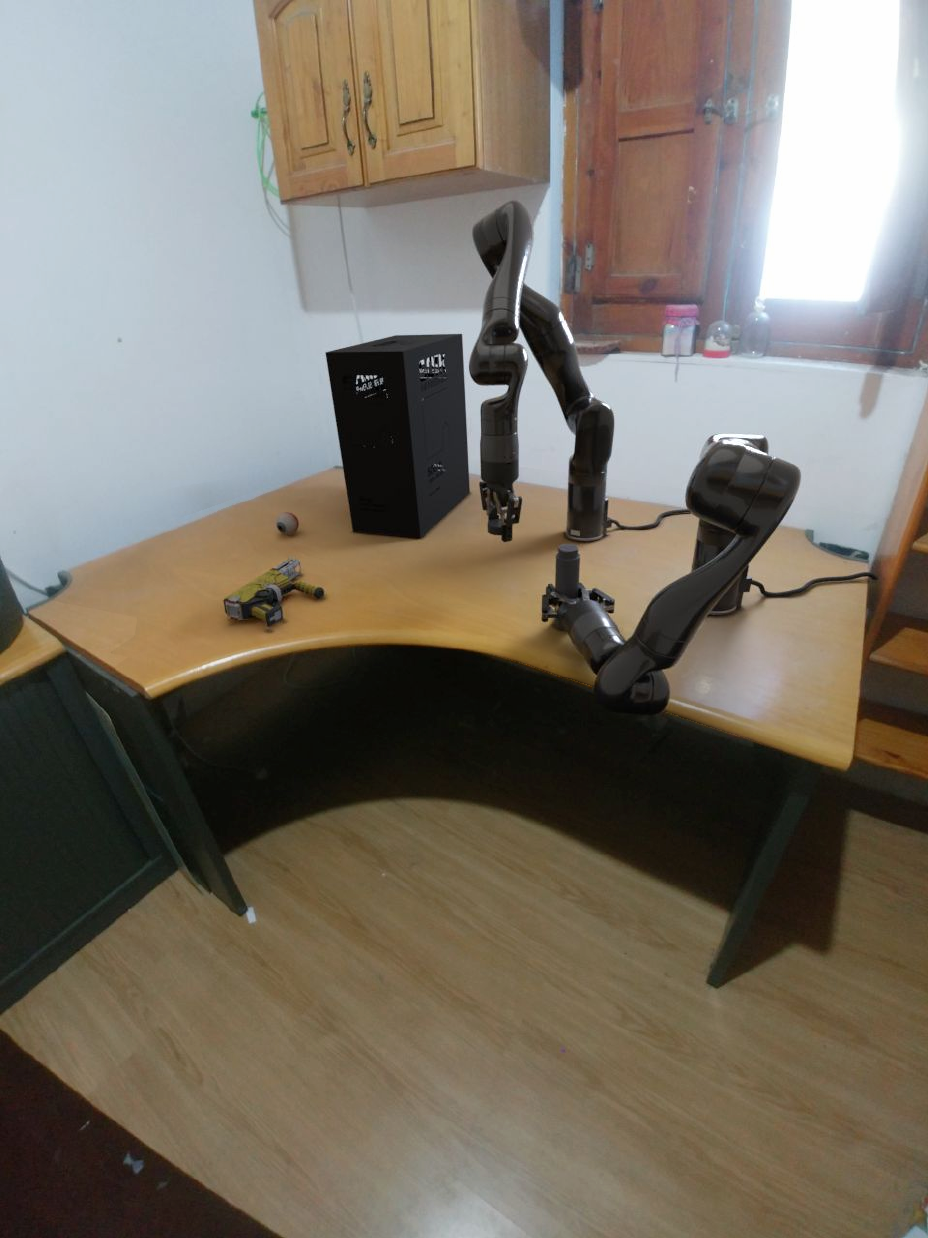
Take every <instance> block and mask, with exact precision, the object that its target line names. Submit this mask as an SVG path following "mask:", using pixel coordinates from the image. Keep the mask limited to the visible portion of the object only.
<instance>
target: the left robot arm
mask: <svg viewBox="0 0 928 1238" xmlns="http://www.w3.org/2000/svg"><path fill="white" fill-rule="evenodd" d="M471 239H472V242H473V246H474V248H475V250H476V253H477V255H478V256H479V259H480V261H481V262H482V264H483V266H484V268H485V269H486V272H488V275H489V276H490V277H491V281H490V283H489V285H488V288H487V290H486V292H485V296H484V299H483V304H482V316H481V328H480V331H479V334H478V337H477V339H476V341H475V343H474V345H473V347H472V350H471V353H470V356H469V363H468V373H469V376H470V378H471V379H472V381H473V382H474V383H475V384H476V385H478V386H484V387H487V386H507V389H506V391H505V393H503V394H501V395H499V396H495V397H491V398H488V399H485V400H484V401H482V402H481V404H480V412H479V413H480V440H479V441H480V442H479V457H480V458H479V460H480V479H481V480H482V481H479V483H478V485H479V493H480V500H481V508H482V511H485V514H486V516H487V520H488V521H487V523H488V522H489V521H490V520H493V519H501V523H502V525H501V535H500V536H501V537H500V540H501V541H502V542H503V543H508V542H512V541H513V525H517V524H519V523H520V519H521V512H522V505H523V498H522V496H521V495H520V496H517V495H515V490H514V483H515V482H516V481H517V480H518V479H519V477H520V474H519V473H520V443H519V433H518V430H519V427H518V425H519V418H518V417H519V403H520V397H521V392H522V388H523V385H524V381H525V377H526V374H527V371H528V365H529V356H528V353H527V350H526V348H525V347H524V346H523V345H522V344H521V343H519V342H516V341H517V339H518V338H519V334H520V331H521V333H522V336H523V338H524V340H525V342H526V344H527V346H528V348H529V350H530V352H531V354H532V356H533V358H534V360H535V361H536V363H537V365H538V367H539V368H540V370H541V372H542V374H543V375H544V377H545V379H546V380H547V383H549V385H550V387H551V388H552V390H553V392H554V394H555V397H556V399H557V402H558V405H559V407H560V410H561V412H562V415H563V418H564V421H565V423H566V426H567V427H568V429H569V431H570V432H571V434H573V435H574V436H575V437H574V450H573V454H571V455H570V456H569V458H568V468H567V469H568V473H567V501H566V502H567V503H566V527H565V536H566V537H567V538H568V539H570V540H572V541H576V542H583V543H584V542H586V543H587V542H594V541H599V540H600V539H602V538H604V536H607V530H608V529H610V528H613V527H612V526H613V524H614V525H615V526H616V527H617V528H619V529H622V530H629V531H631V530H635V531H637V530H638V531H639V530H646V529H650V528H655V527H656V526H659V524H660V523H661V522H662V518H663V517H665V516H669V515H673V514H683V513H691V512H690V511H689V510H688V509H687V508H685V509H683V508H682V509H673V510H667V511H664V512H662V513H660V514H659V515H658V517H657V519H656V521H655V522H653V523H650V524H645V525H639V526H638V525H637V526H627V525H623V524H621V523H620V522H619V521H618V520H616V519H613V518H612V517H609V516H608V514H609V498H607V497H606V493H607V477H608V465H609V461H610V459H611V457H612V453H613V446H614V445H613V444H614V435H615V415H614V411H613V410H612V408H611V406H610V405H609V404H607V403H605V402H604V401H602V400H600V399H597V398H596V396H595V395H594V394H593V392H592V391H591V389H590V387H589V385H588V383H587V382H586V380H585V378H584V375H583V373H582V371H581V367H580V362H579V356H578V351H577V350H578V349H577V346H576V342H575V341H576V340H575V338H574V336H573V333H572V331H571V328H570V326H569V324H568V321H567V320H566V318H565V315H564V313H563V311H562V310H561V308H560V307H559V306H557V304H555V303H554V302H553V301H552V300H550V299H548V298H547V297H545V296H544V295H542V294H541V293H539V292H537V291H536V290H534V289H532V288H531V287H530V286H528V285H527V284H526V283H525V280H526V276H527V272H528V268H529V265H530V264H529V263H530V259H531V254H532V250H533V246H534V239H535V231H534V224H533V221H532V217H531V216H530V214H529V211H528V210H527V208H526V207H525V205H524V204H523V203H522V202H521V201H519V200H516V199H511V200H507V201H505V202H504V203H502V204H501V205H499V206H497V207H496V208H495V209H493V210H492V211H490V212H489V213H487V214H486V215H485V216H483V217H482V218H480V219H479V220H478V221H476V222H475V223H474V224H473V226H472V228H471ZM503 508H504V509H503Z"/></svg>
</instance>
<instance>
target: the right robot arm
mask: <svg viewBox="0 0 928 1238" xmlns="http://www.w3.org/2000/svg"><path fill="white" fill-rule="evenodd" d="M769 448H770V446H769V441H768V439H767V437H766V436H764V435H760V434H741V433H740V434H739V433H716V434H713V435H710V436H709V437H708V438H707V439H706V440H705V441H704V444H703V446H702V448H701V451H700V455H699V460H698V462H697V463H696V465H695V466H694V469H693V470H692V472H691V474H690V476H689V479H688V482H687V485H686V489H685V493H684V494H685V495H684V500H685V501H684V503H685V506H686V509H688V510H689V511H690V512H689V513H690V514H692V515H693V516H695V517H696V518H697V519H698V522H697V523H698V524H697V530H696V537H695V543H694V550H693V557H692V563H691V569H690V572H689V573H687V574H685V575H684V576H681V577H679V578H678V579H676V580H674V581H673V582H671V583H669V584H667V585H666V586H665V587H663V588H662V589H661V590H659V591H658V592H657V593H656V594H655V595H654V596H653V597H652V599H651V600H650V602H649V604H648V605H647V607H646V608H645V610H644V612H643V614H642V616H641V617H640V619H639V621H638V623H637V625H636V627H635V629H634V631H633V632H632V635H631V636H630V637H628V638H627V639H625V637H624V636H623V634H622V633H621V632H620V628H619V627H618V625H617V624H616V622H615V621H614V620H613V619H612V617H611V616H610V614H611V615H612V614H614V613H615V606H616V605H615V604H616V600H615V598H613V597H612V596H610V595H608V594H607V593H605V592H604V591H602V590H601V589H599V588H597V587H594V588H592V589H591V590H590V589H589V588H587V587H585V585H584V584H583V583H582V582H579V591H578V598H577V599H569V598H568V597H566V596H565V595H560V594H558V593H557V590H556V589H555V585H554V584H553V583H547V586H545V593H544V594H542V595H541V622H543V623H548V622H549V619H554V618H557V620H558V621H559V622H561V623H562V624H563V626H564V628H565V630H564V631H565V633H566V634H567V636H568V637H569V639H570V641H571V643H572V644H573V645H574V647H575V648H576V650H577V652H578V653H579V654H580V655H581V656H582V657H583V658H584V660H585V662H586V663H587V665H588V667H589V669H590V670H591V671H592V672H593V674H594V675H595V676H596V677H595V680H594V683H593V694H594V698H595V700H596V703H597V704H598V705H599V706H600V707H601V708H602V709H603V710H605V711H606V712H607V711H608V712H612V713H616V714H617V713H618V714H630V715H637V716H638V715H640V716H654V715H657V714H660V713H662V712H663V711H664V710H665V709H666V707H667V706H668V705H669V702H670V699H671V687H670V682H669V680H668V678H667V675H666V674H665V673H664V672H663V671H664V670H669V669H671V668H673V667H675V666H676V665H677V664H678V663H679V661H680V660H681V659H682V657H683V655H684V653H685V652H686V650H687V649H688V647H689V646H690V644H691V642H692V641H693V639H694V637H695V636H696V634H697V633H698V630H699V629H700V627H701V626H702V624H703V623H704V621H705V620H706V619H707V617H708V616H727V615H730V614H733V613H734V612H736V610H739V609H742V602H743V598H744V593H750V591H751V587H752V586H755V587H757V588H758V589H759V592H760V594H761V595H763V596H765V597H769V598H779V597H781V598H782V597H789V596H793V595H797V594H801V593H803V592H806V590H808V589H810V587H812V586H813V585H816V584H820V583H828V582H829V583H830V582H843V581H851V580H856V579H859V578H864V577H867V578H870V579H872V580H874V581H878V580H879V578H878V576H877V575H876V574H875V573H874V572H870V571H863V572H858V573H857V572H856V573H854V574H849V575H841V576H825V577H819V578H814V579H811V580H809V581H808V582H807V583H805V584H804V585H803V586H801V587H798V588H794V589H790V590H786V591H777V592H771V591H767V590H766V589H765V586H764V584H763V583H762V582H760V581H758V580H755V579H753V577H751V576H750V575H748V574H749V569H750V563H751V562H752V561H753V559H754V558H755V557H756V555H757V554H758V553H759V552H760V551H761V549H762V548H763V547H764V546H765V544H766V543H767V541H769V539H770V538H771V537H772V535H773V534H774V533H775V531H776V530H777V529H778V527H779V526H780V525H781V523H782V522H783V520H784V519H785V517H786V515H787V514H788V512H789V510H790V508H791V506H792V505H793V503H794V501H795V499H796V496H797V494H798V492H799V489H800V486H801V481H802V472H801V469H800V468H799V467H798V466H797V465H795V464H794V463H791V462H789V461H787V460H784V459H781V458H779V457H777V456H773V455H772V454H771V455H770V454H769V451H770V449H769ZM553 608H554V609H553ZM555 609H556V611H555Z"/></svg>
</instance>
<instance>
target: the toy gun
mask: <svg viewBox="0 0 928 1238" xmlns="http://www.w3.org/2000/svg"><path fill="white" fill-rule="evenodd" d="M301 565H302V564H301V561H300V560H299V559H297V558H296V559H293V558H292V557H289V558H287V559H286V560H285V561H283V562H282V563H280V564H278V565H276V567H271V568H270V569H269V570H267V571H265V572H264V573H263V574H260V575H259V576H258V577H256V578H254V579H253V580H251V581H249V582H248V583H246V584H245V585H243V586H242V587H240V588H238V589H237V590H235V591H234V592H232V593H231V594H229V595H227V596H226V597H224V598H223V601H222V602H223V607H224V613H225V615H226V616H227V617H229V618H230V620H232V621H233V620H234V621H235V622H236V621H239V620H242V621H246V620H251V619H255V618H258V619H261V620H263V621H264V622H265V624H266V627H267V628H270V627H272V626H274V625H276V624H277V623H279V622H281V621H283V620H284V613H283V606H282V605H281V602H282V599H283V596H286V595H287V594H289V593H291V592H292V591H297V592H299V593H302V594H305V595H309V596H310V597H313V598H315V599H316V600H319V599H322V598H323V597H324V596H325V590H324V588H323V587H321V586H320V587H319V586H316V585H315V584H310V583H308V582H306V581H302V580H300V579H299V580H296V581H295V582H292V581H291V580H293V579H295V578H296V577H297V576H299V575H301V574H302V567H301ZM297 567H299V570H298V571H297V570H296V568H297Z"/></svg>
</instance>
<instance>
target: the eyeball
mask: <svg viewBox="0 0 928 1238" xmlns="http://www.w3.org/2000/svg"><path fill="white" fill-rule="evenodd" d="M299 525H300V522H299V519H298V517H297V516H296V515H295V514H294V513H292V512H287V511H286V512H282V513H280V514H279V515H278V516H277V517H276V520H275V527H276V529H277V530H278V531H279V532H280V533H281V534H282V535H285V536H286V535H287V536H289V535H293V534H295V533H296V532H297V531H298V529H299Z"/></svg>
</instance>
